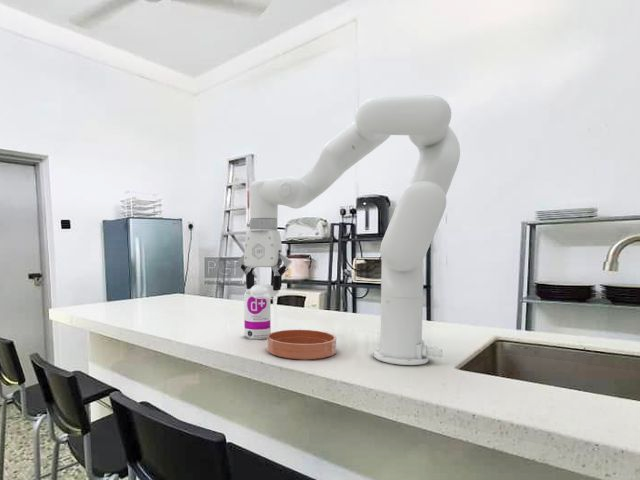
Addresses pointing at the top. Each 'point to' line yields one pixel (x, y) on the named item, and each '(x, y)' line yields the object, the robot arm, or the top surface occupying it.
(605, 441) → the top surface
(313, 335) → the bowl
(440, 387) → the top surface
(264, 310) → the supplement can
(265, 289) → the garlic
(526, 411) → the top surface
